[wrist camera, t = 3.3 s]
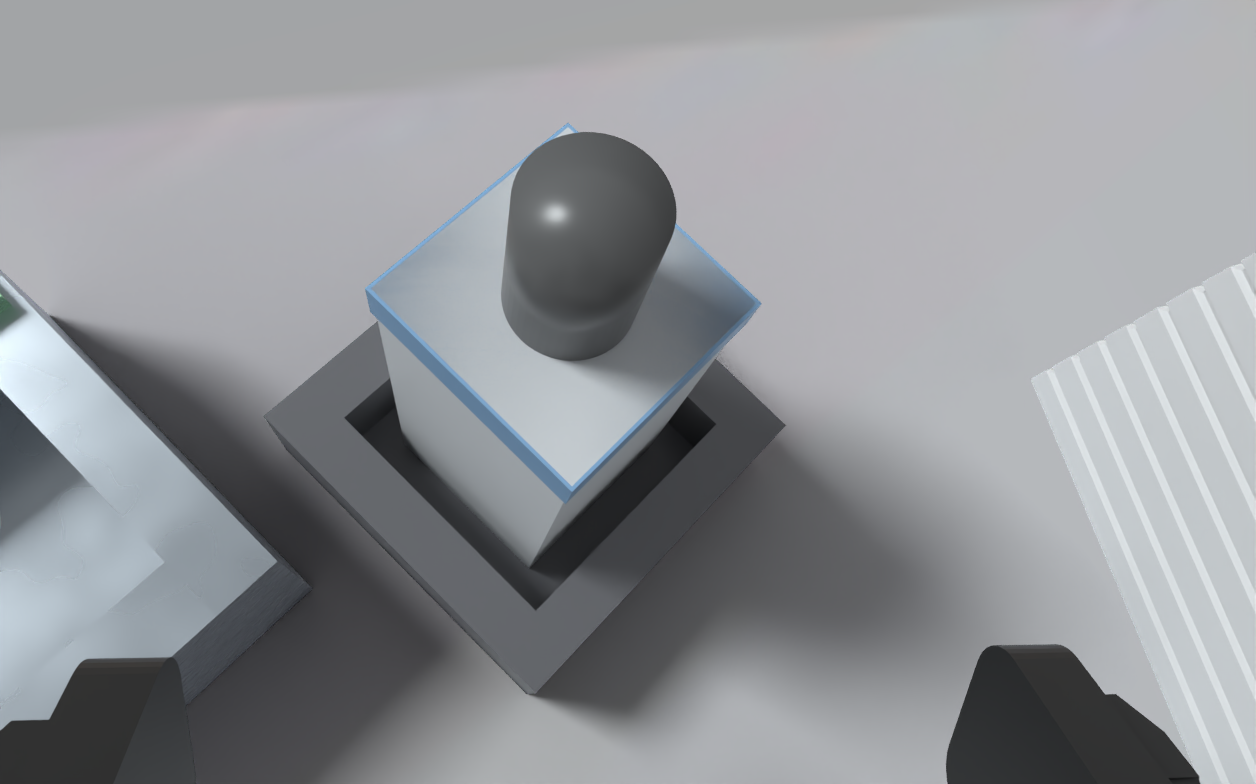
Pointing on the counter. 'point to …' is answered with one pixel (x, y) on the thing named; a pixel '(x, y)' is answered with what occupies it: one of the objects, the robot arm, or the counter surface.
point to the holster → (471, 553)
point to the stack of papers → (1177, 499)
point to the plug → (552, 333)
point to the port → (111, 531)
